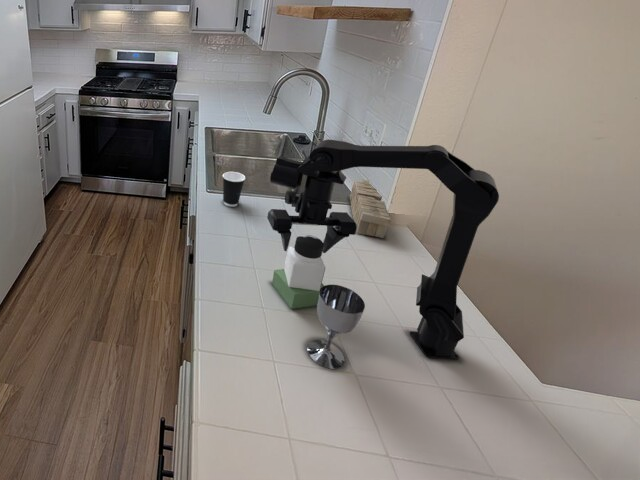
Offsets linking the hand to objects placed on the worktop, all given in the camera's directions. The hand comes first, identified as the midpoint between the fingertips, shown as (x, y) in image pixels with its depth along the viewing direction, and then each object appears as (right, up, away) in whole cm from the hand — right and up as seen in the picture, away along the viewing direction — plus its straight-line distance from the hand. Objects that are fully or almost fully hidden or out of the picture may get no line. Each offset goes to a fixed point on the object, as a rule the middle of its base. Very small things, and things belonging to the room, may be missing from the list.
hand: (304, 251), depth 94 cm
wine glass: (-1, -19, -13) cm, 23 cm away
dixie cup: (-6, +6, +46) cm, 47 cm away
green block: (0, -12, +4) cm, 12 cm away
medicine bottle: (0, -8, +2) cm, 8 cm away
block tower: (+39, +3, +39) cm, 55 cm away
